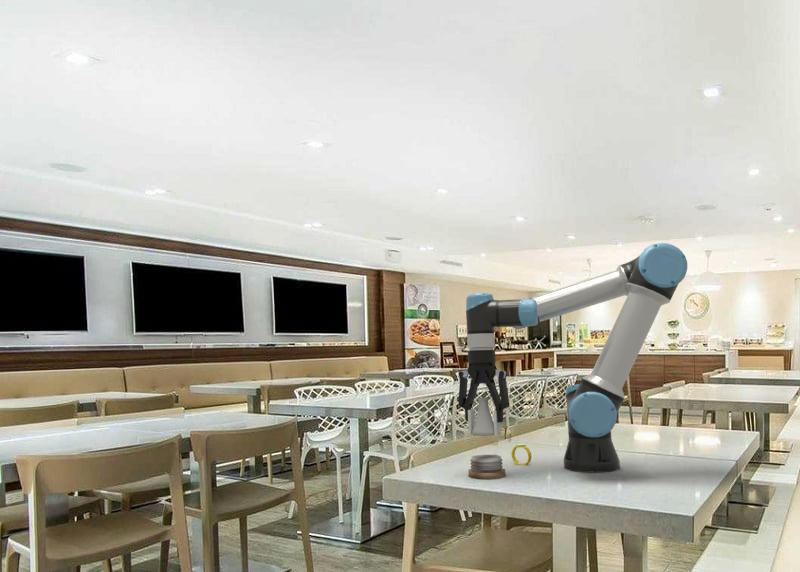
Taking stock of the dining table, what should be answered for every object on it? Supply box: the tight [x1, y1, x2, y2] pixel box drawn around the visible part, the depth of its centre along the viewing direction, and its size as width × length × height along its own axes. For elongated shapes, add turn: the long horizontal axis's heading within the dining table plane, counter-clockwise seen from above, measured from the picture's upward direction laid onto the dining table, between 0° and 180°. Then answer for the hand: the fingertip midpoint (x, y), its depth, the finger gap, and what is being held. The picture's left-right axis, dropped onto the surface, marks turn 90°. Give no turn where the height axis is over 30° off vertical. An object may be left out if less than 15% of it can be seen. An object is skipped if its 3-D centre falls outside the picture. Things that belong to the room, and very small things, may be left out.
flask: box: [471, 396, 495, 437], centre depth 177 cm, size 7×7×10 cm
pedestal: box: [467, 454, 507, 480], centre depth 175 cm, size 10×10×5 cm
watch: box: [511, 443, 532, 466], centre depth 191 cm, size 6×3×6 cm, turn 50°
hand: (484, 434), depth 176 cm, fingers closed on flask, 7 cm apart
